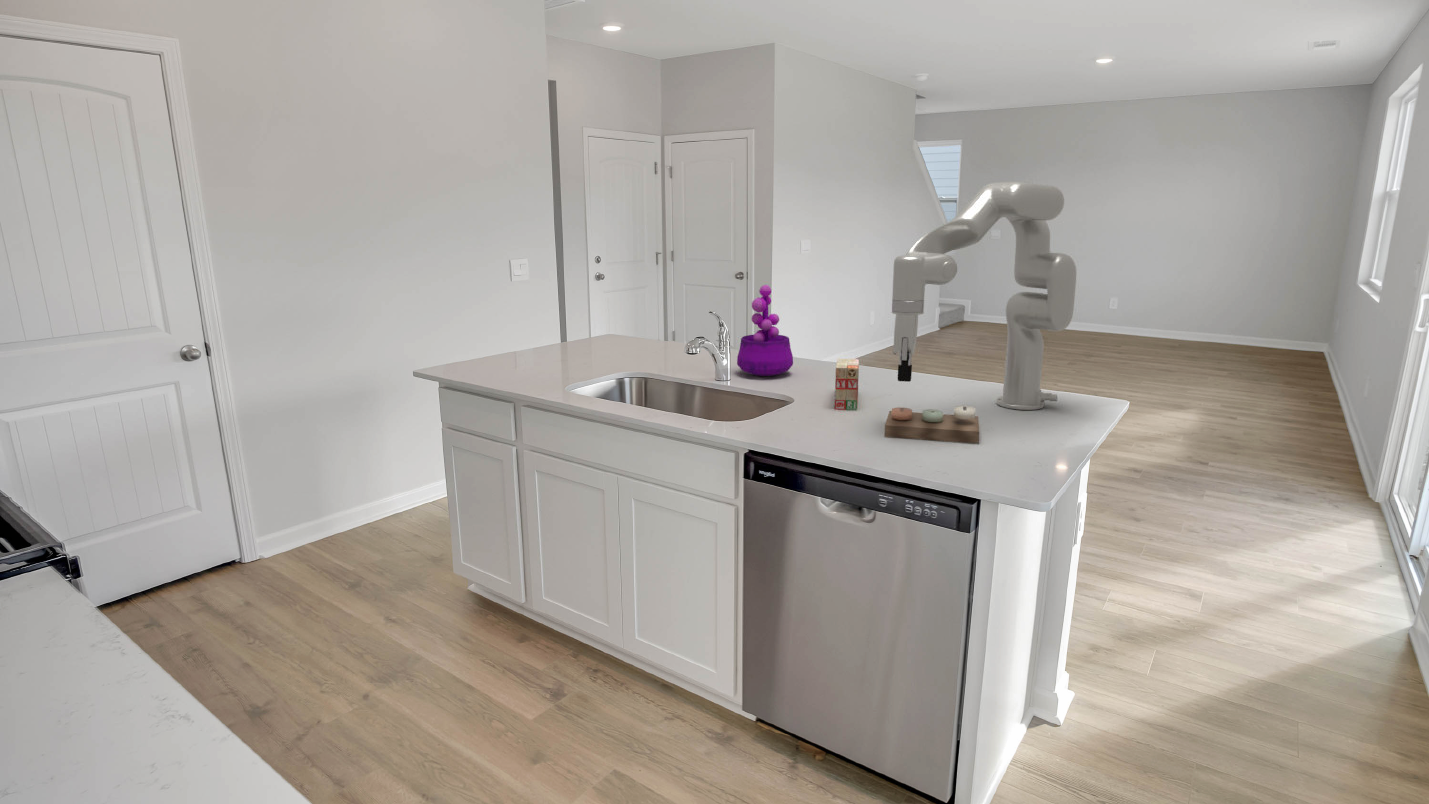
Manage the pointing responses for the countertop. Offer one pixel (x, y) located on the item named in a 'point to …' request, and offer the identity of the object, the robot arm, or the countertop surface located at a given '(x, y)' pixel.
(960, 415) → the cream button
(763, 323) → the decorative plant
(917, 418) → the button board
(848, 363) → the stack of blocks
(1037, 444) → the countertop surface
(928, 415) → the sage button
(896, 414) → the terracotta button
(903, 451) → the countertop surface
